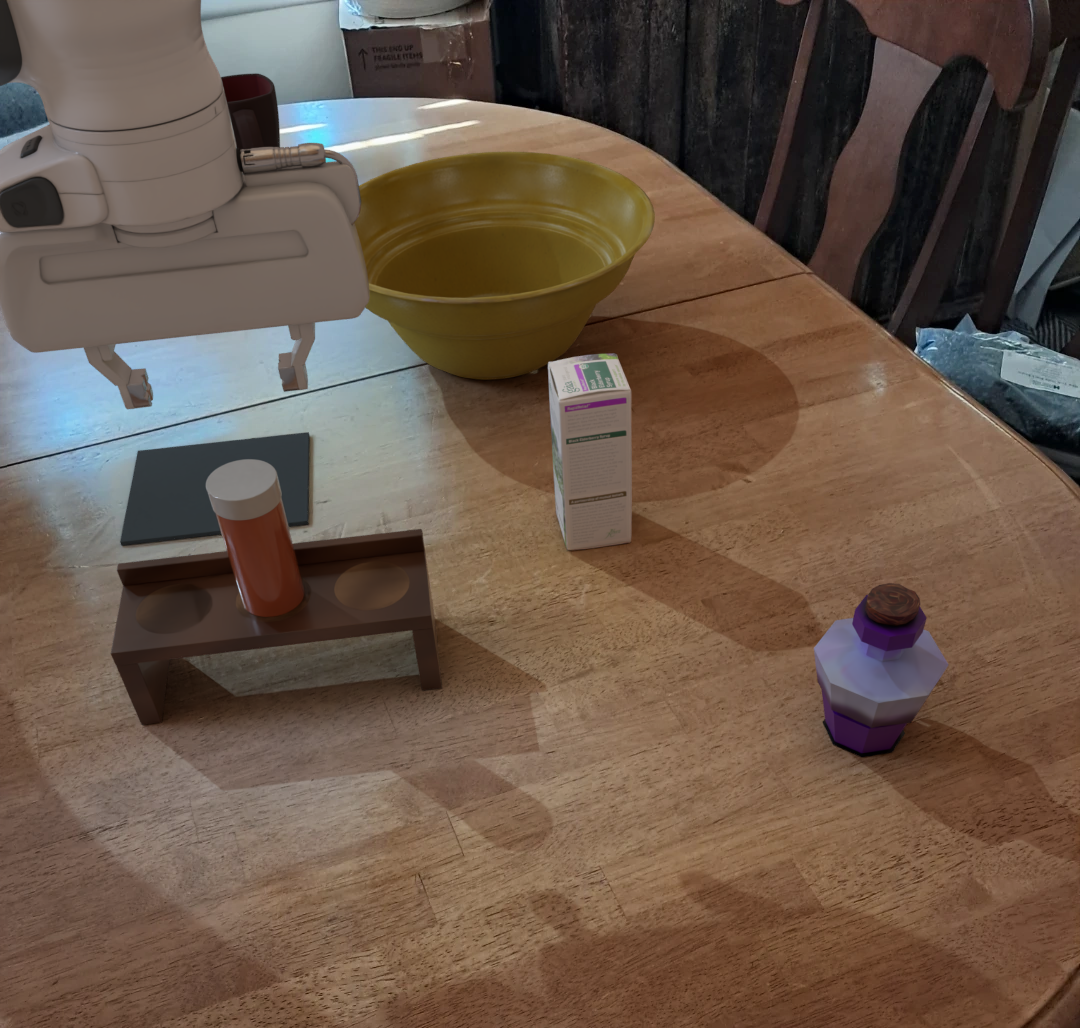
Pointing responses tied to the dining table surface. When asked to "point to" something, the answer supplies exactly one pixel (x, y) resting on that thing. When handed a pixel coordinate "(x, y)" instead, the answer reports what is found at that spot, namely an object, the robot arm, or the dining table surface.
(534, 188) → the planter bowl
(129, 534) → the mat
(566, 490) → the syrup box
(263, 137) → the cup
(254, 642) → the spice shelf
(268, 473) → the shaker
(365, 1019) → the dining table surface
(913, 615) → the potion bottle
